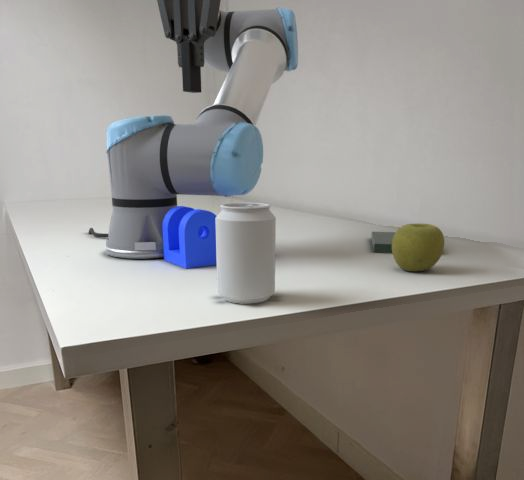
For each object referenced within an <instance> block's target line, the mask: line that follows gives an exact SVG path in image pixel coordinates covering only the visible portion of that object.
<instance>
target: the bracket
mask: <svg viewBox="0 0 524 480" xmlns="http://www.w3.org/2000/svg"><path fill="white" fill-rule="evenodd" d="M216 216H217V215H216V214H215V213H213V212H212V211H210V210H205V209H201V208H196V209H195V208H193V207H190V206H183V205H177V207H174V208H172V209H171V210H169V211H168V213H167V214H166V215H165V217H164V220H163V226H162V227H163V245H164V258H163V259H164V261H165V262H167V263H170V264H172V265H176V266H178V267H181V268H184V269H192V268H200V267H201V268H202V267H208V266H217V260H216V222H215V218H216Z"/></svg>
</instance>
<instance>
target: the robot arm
mask: <svg viewBox="0 0 524 480" xmlns="http://www.w3.org/2000/svg"><path fill="white" fill-rule="evenodd" d="M156 1H157V7H158V11H159V15H160V20H161V24H162V28H163V32H164V37H165V38H166V39H168V40H171V41H173V42H175V43H176V47H177V48H176V50H177V65H178V67H179V68H181V77H182V78H181V79H182V92H184V93H185V92H186V93H191V94H197V93H199V94H200V93H202V73H201V72H202V68H204V66H205V65H207V66H209V67H210V68H213V69H214V70H216V71H219V72H223V73H227V75H226V77H225V79H224V81H223V83H222V85H221V87H220V90H219V92H218V94H217V96H216V98H215V101H214V102H213V104H211V105H209V106H207V107H205V108H204V109H203V110H201V111H200V113H199V114H198V116H197V117H196V119H195V121H194V123H177V124H176V123H175V121H174V119H173V117H172V116H171V115H168V114H167V115H165V114H158V115H157V114H156V115H148V116H146V115H145V116H137V117H131V118H125V119H119V120H116V121H114V122H112V123H110V124H109V126H108V127H107V129H106V149H105V153H106V154H107V155H106V156H107V164H108V175H109V185H110V194H111V195H110V196H111V205H112V213H111V217H110V222H109V228H108V233H101V232H96V231H95V229H94V228H93V227H90V228H89V229H88V233H87V234H88V235H92V236H93V237H96V238H106V240H105V252H106V255H108V256H111V257H113V258H120V259H133V260H134V259H135V260H136V259H137V260H139V259H140V260H142V259H149V260H150V259H164V245H163V227H162V226H163V220H164V217H165V215H166V214H167V213H168V211H169V210H171V209H172V208H174V207H177V206H178V195H182V196H183V195H186V196H211V197H213V196H217V197H226V198H227V197H228V198H229V197H234V196H244V195H248V194H249V193H250V192H252V191H253V190H254V189H255V187H256V185H257V184H258V181H259V179H260V177H261V173H262V164H263V161H264V143H263V142H264V141H263V138H262V134H261V131H260V130H259V128H258V127H257V123H258V121H259V118H260V115H261V113H262V110H263V108H264V105H265V102H266V99H267V97H268V94H269V91H270V89H271V86H272V85H273V84H274V83H276V82H278V81H279V80H280V78H281V77H282V76H283V75H284V72H285V71H286V72H291V71H295V70H297V69H298V65H299V42H298V41H299V40H298V28H297V27H298V26H297V19H296V14H295V12H294V11H293V10H292V9H291V8H286V7H285V8H282V7H275V8H274V9H256V10H255V9H254V10H253V9H251V10H235V11H234V10H233V11H224V10H221V9H220V7H221V0H156Z"/></svg>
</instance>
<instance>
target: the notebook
mask: <svg viewBox="0 0 524 480" xmlns="http://www.w3.org/2000/svg"><path fill="white" fill-rule="evenodd" d="M395 233H396V231H371V236H370V241H371V244H372V245H371V246H372V249H373V253H388V254H389V253H392V240H393V237H394V234H395ZM392 254H393V253H392Z"/></svg>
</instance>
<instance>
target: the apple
mask: <svg viewBox="0 0 524 480" xmlns="http://www.w3.org/2000/svg"><path fill="white" fill-rule="evenodd" d="M395 232H396V233H395V234H394V237H393V240H392V257H393V259H394V261H395V263H396V264H397V266H398V267H399V268H400V269H401V270H403V271H406V272H423V271H426V270H430V269H431V268H433V267H434V266H435V265H436V264H437V263H438V262H439V260H440V259H441V257H442V255H443V252H444V249H445V235H444V233H443V231H442V230H441V228H439V227H438V226H436V225H433V224H430V223H407V224H404V225H402V226H400V227H399V228H398V229H397V230H395Z"/></svg>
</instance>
